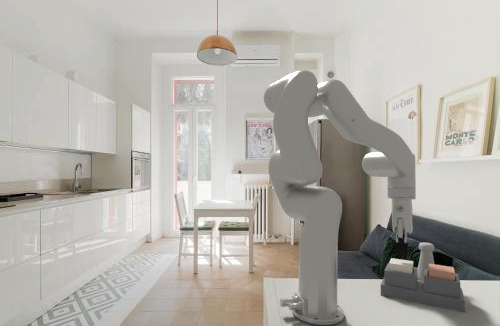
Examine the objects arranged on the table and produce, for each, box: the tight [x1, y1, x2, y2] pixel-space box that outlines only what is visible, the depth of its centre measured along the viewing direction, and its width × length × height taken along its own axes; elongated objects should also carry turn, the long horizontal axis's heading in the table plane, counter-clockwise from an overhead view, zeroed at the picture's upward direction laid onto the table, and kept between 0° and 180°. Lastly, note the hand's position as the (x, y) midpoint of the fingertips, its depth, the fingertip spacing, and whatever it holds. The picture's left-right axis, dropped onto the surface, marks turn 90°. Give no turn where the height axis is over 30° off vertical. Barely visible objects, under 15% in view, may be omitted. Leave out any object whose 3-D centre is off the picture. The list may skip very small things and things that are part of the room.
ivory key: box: [388, 257, 414, 274], centre depth 89 cm, size 6×6×4 cm
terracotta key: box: [429, 263, 456, 281], centre depth 84 cm, size 6×6×4 cm
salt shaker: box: [417, 242, 435, 281], centre depth 97 cm, size 6×6×13 cm
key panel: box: [380, 262, 466, 313], centre depth 86 cm, size 20×10×7 cm, turn 59°
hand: (401, 255), depth 89 cm, fingers closed
